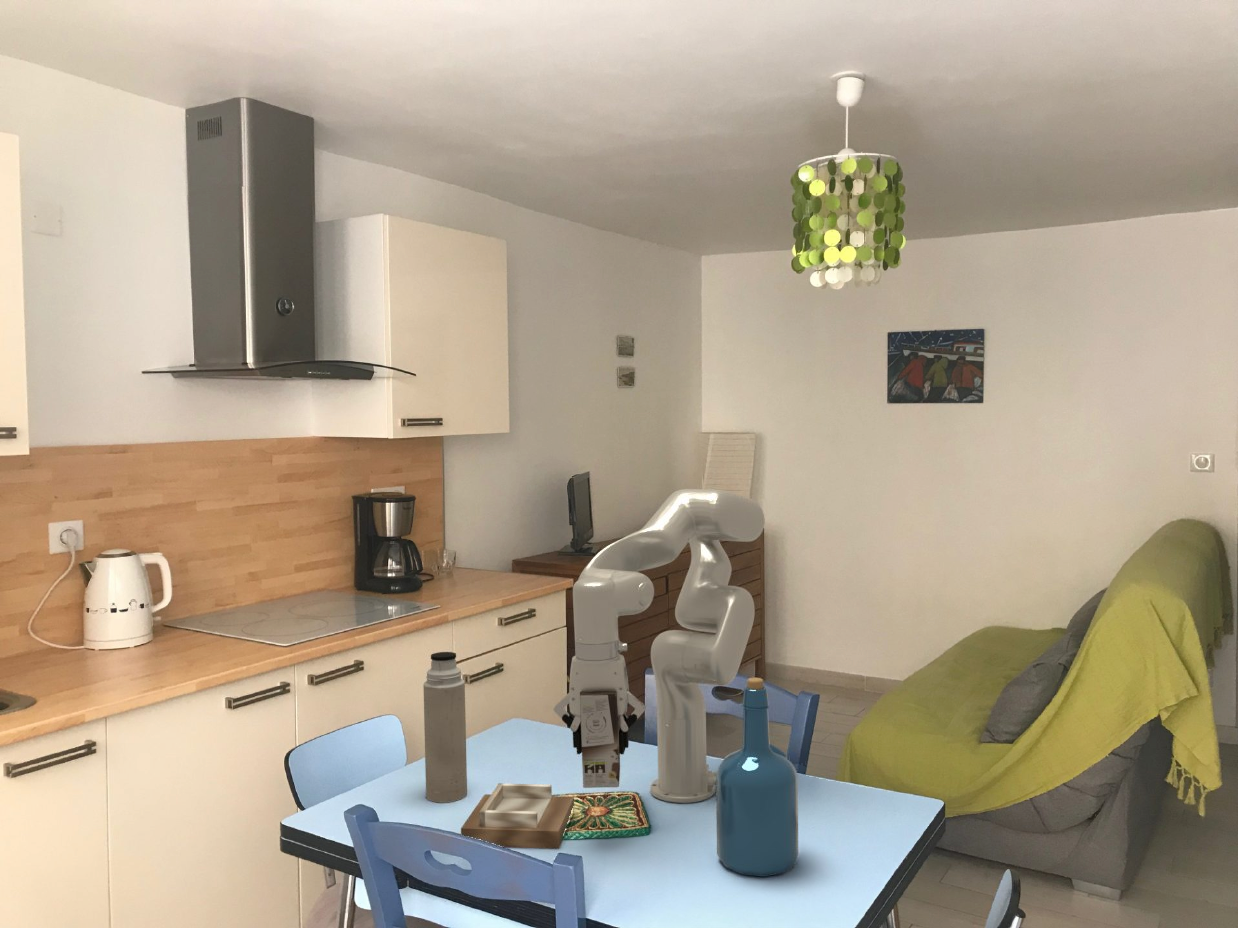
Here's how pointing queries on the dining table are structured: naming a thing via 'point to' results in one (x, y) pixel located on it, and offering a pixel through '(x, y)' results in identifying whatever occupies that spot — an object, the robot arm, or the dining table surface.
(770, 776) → the wine bottle
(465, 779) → the thermos bottle
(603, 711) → the coffee box
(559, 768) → the dining table surface
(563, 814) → the dock
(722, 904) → the dining table surface
